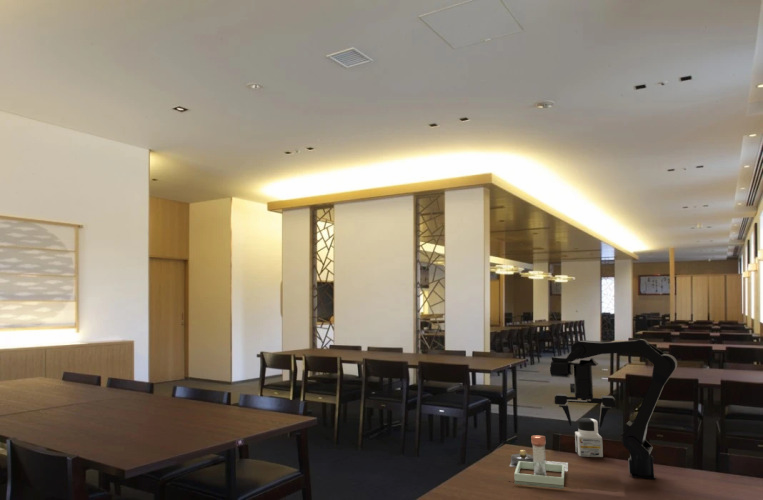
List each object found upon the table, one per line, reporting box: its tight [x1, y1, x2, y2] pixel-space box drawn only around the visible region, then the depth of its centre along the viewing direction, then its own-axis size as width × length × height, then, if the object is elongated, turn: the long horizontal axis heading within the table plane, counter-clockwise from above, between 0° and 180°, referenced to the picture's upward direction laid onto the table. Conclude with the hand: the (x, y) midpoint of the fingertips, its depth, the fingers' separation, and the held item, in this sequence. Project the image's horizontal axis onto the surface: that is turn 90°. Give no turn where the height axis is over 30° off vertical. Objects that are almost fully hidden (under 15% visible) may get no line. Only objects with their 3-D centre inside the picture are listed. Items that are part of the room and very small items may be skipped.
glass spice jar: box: [530, 434, 547, 476], centre depth 166 cm, size 4×4×12 cm
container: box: [574, 417, 604, 458], centre depth 191 cm, size 8×8×13 cm
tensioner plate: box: [509, 449, 569, 472], centre depth 178 cm, size 18×10×5 cm, turn 71°
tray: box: [513, 461, 565, 490], centre depth 165 cm, size 14×14×3 cm
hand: (585, 426), depth 179 cm, fingers open, 9 cm apart
